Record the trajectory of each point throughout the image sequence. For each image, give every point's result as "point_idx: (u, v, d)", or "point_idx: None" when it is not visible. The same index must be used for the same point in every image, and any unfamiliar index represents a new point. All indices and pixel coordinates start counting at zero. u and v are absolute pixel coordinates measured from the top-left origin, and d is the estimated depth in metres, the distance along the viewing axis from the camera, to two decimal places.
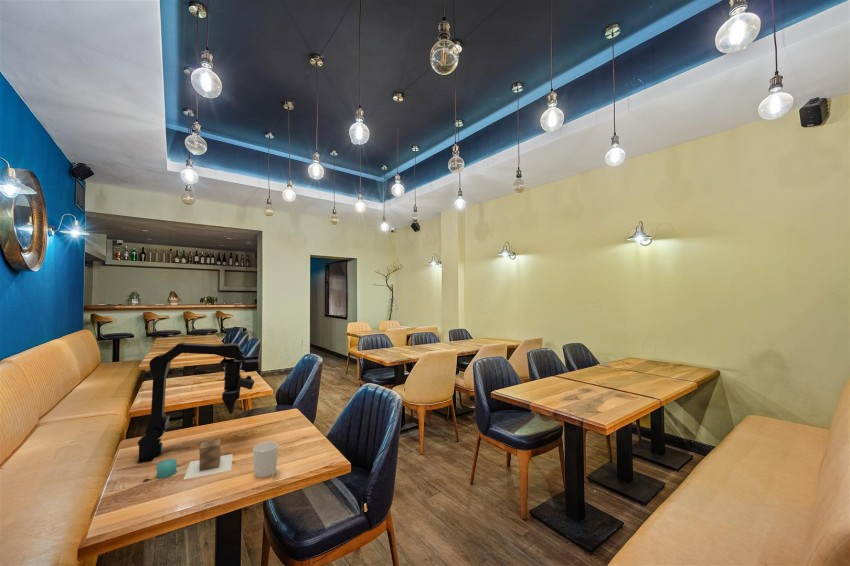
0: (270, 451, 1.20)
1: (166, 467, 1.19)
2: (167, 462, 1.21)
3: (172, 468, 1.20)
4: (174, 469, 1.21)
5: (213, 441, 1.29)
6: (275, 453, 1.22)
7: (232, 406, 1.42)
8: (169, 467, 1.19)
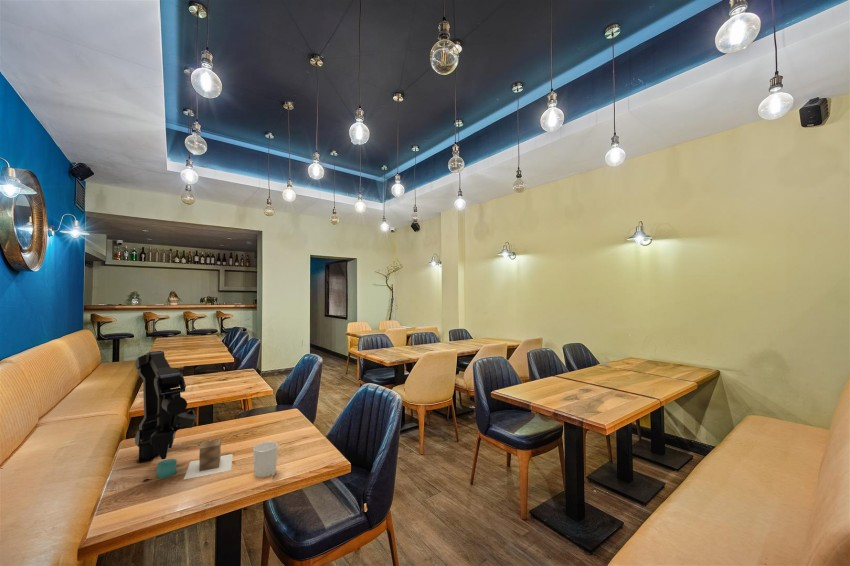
0: (270, 451, 1.20)
1: (166, 467, 1.19)
2: (167, 462, 1.21)
3: (172, 468, 1.20)
4: (174, 469, 1.21)
5: (213, 441, 1.29)
6: (275, 453, 1.22)
7: (165, 450, 1.16)
8: (169, 467, 1.19)
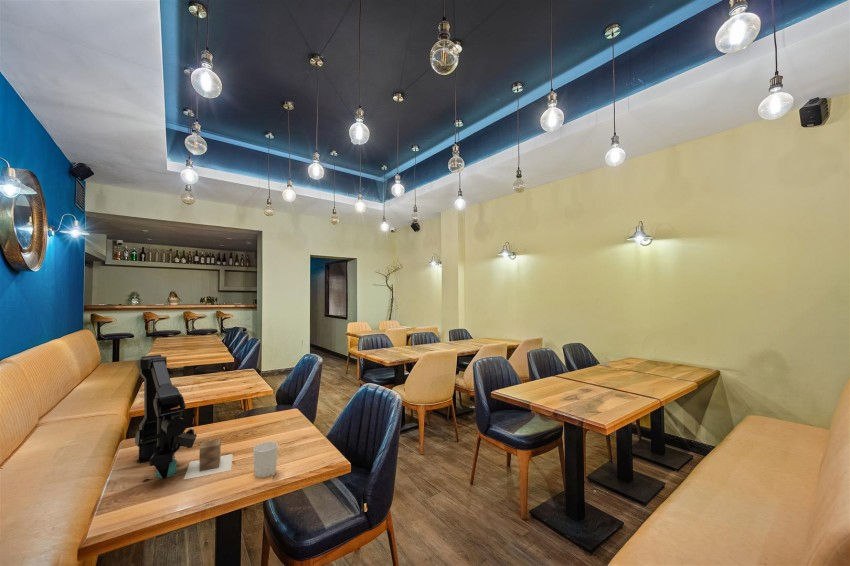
0: (270, 451, 1.20)
1: None
2: None
3: (172, 468, 1.20)
4: (174, 469, 1.21)
5: (213, 441, 1.29)
6: (275, 453, 1.22)
7: (166, 469, 1.18)
8: (169, 467, 1.19)
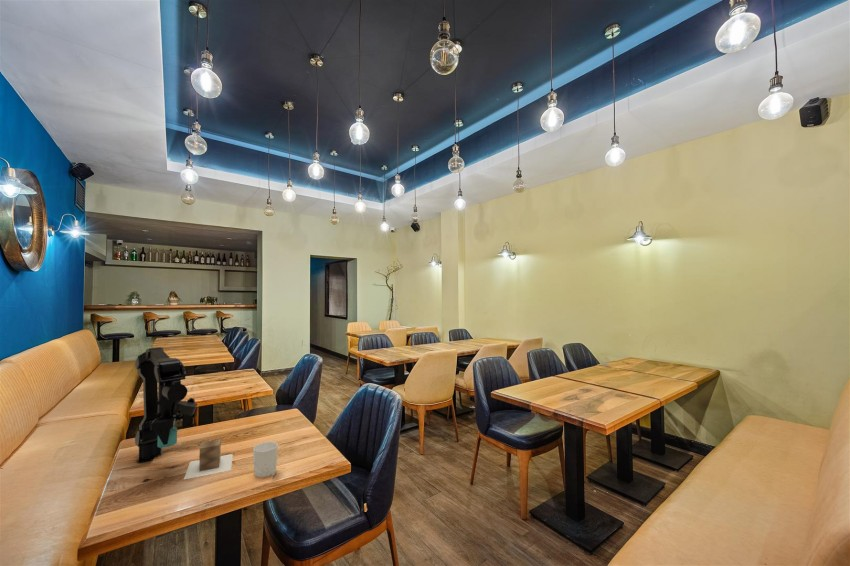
0: (270, 451, 1.20)
1: None
2: None
3: (173, 435, 1.21)
4: (175, 436, 1.21)
5: (213, 441, 1.29)
6: (275, 453, 1.22)
7: (166, 435, 1.18)
8: (170, 434, 1.20)
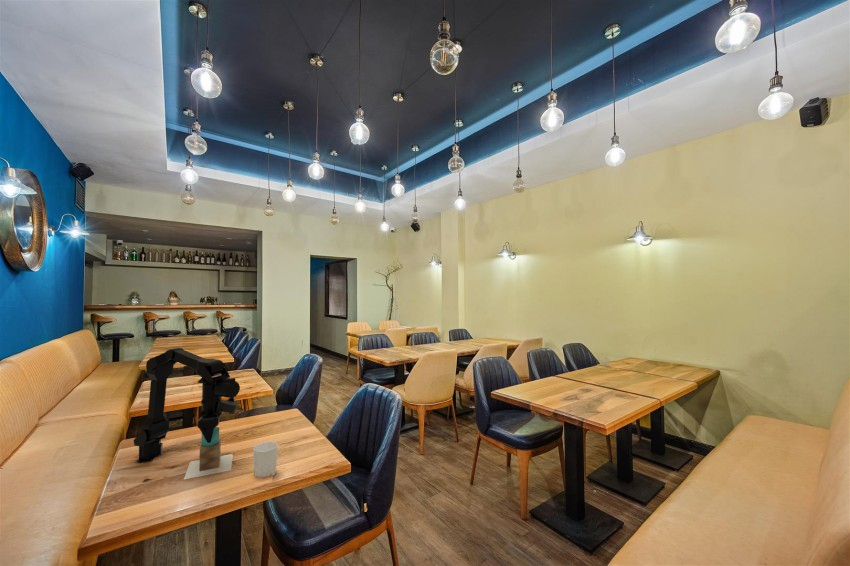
0: (270, 451, 1.20)
1: None
2: None
3: (216, 435, 1.26)
4: (217, 436, 1.27)
5: None
6: (275, 453, 1.22)
7: (210, 434, 1.23)
8: (213, 434, 1.25)
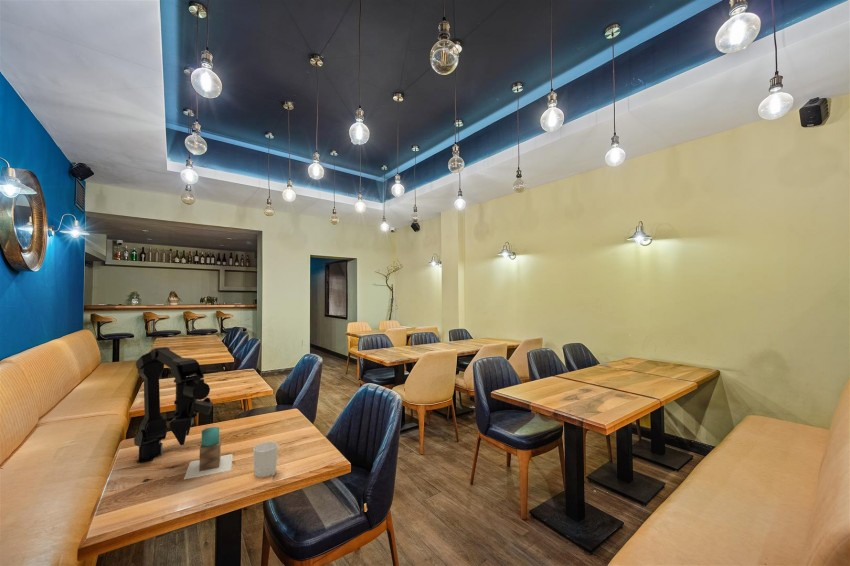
0: (270, 451, 1.20)
1: (211, 433, 1.25)
2: (210, 429, 1.27)
3: (216, 435, 1.26)
4: (217, 436, 1.27)
5: None
6: (275, 453, 1.22)
7: (183, 436, 1.19)
8: (213, 434, 1.25)
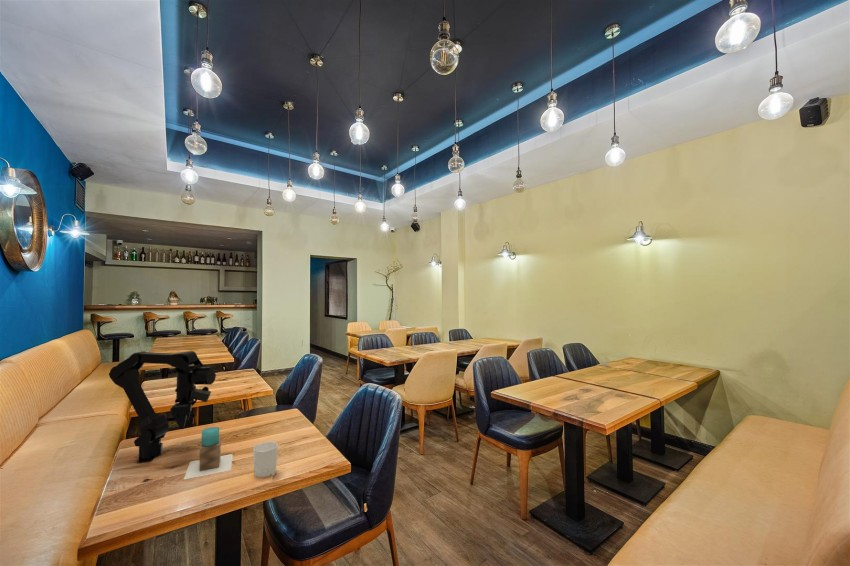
0: (270, 451, 1.20)
1: (211, 433, 1.25)
2: (210, 429, 1.27)
3: (216, 435, 1.26)
4: (217, 436, 1.27)
5: None
6: (275, 453, 1.22)
7: (183, 421, 1.30)
8: (213, 434, 1.25)
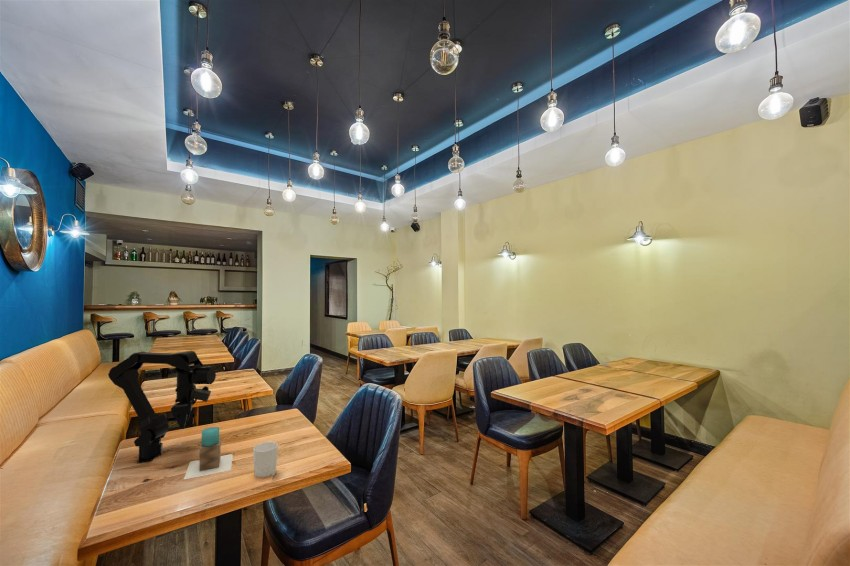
0: (270, 451, 1.20)
1: (211, 433, 1.25)
2: (210, 429, 1.27)
3: (216, 435, 1.26)
4: (217, 436, 1.27)
5: None
6: (275, 453, 1.22)
7: (183, 420, 1.30)
8: (213, 434, 1.25)
